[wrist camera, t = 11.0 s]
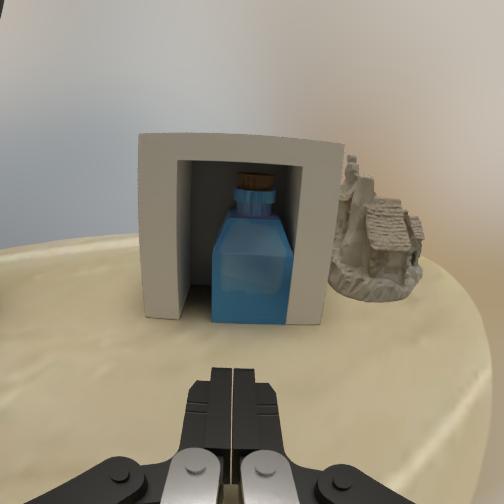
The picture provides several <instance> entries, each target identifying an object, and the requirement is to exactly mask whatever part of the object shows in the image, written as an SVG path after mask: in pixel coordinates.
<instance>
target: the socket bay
mask: <svg viewBox="0 0 504 504" xmlns="http://www.w3.org/2000/svg"><path fill="white" fill-rule="evenodd" d="M343 156H344V144H340V143H332V142H324V141H316V140H307V139H298V138H287V137H276V136H262V135H246V134H225V133H143V134H139V144H138V219H139V244H140V261H141V275H142V286H143V297H144V307H145V316H146V317H152V318H164V319H176V320H179V319H180V316H181V313H182V310H183V307H184V304H185V301H186V298H187V295H188V291H189V288H190V285H208V286H212V253H213V248H214V244H215V240H216V236H217V231H218V229H219V227H220V226H221V224H222V222H223V220H224V218H225V216H226V215H227V213H228V211H229V209H230V208H237V201H236V200H234V199H233V198H234V187H237V186H239V185H238V179H237V173H238V172H257V173H267V174H273V175H276V176H275V179H274V183H273V186H272V189H275V190H276V200H275V203H272V206H271V210H275V212H276V213H277V215H278V217H279V219H280V221H281V223H282V226H283V229H284V231H285V234H286V237H287V240H288V242H289V245H290V248H291V250H292V253H293V256H294V258H293V266H292V275H291V283H290V291H289V299H288V307H287V315H286V322H285V323H286V324H301V325H320V320H321V315H322V310H323V304H324V299H325V293H326V287H327V281H328V275H329V269H330V263H331V256H332V250H333V243H334V236H335V228H336V221H337V213H338V205H339V196H340V187H341V178H342V168H343Z"/></svg>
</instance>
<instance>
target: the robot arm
mask: <svg viewBox="0 0 504 504" xmlns="http://www.w3.org/2000/svg"><path fill="white" fill-rule="evenodd" d="M3 4H4V0H0V18H1V13H2V9H3ZM231 394H232V368H215V367H212V370H211V380H210V381H198V380H197V381H196V382H195V383H194V384H193V386H192V387H191V388H190V389H189V393H188V398H187V404H186V410H185V416H184V422H183V428H182V434H181V441H180V446H179V449H178V451H177V453H176V454H175V455H174V456H173V457H172V458H171V459H169V460H167V461H165V462H162V463H158V464H150V465H141V466H140V465H139V464H138V463H137V462H136V461H134V460H132V459H130V458H127V457H121V456H117V457H111V458H109V459H107V460H105V461H103V462H101V463H100V464H98V465H96V466H95V467H93V468H91V469H89V470H88V471H86V472H84V473H82V474H80V475H79V476H77V477H75V478H73V479H71V480H70V481H68V482H66V483H64V484H62V485H60V486H58V487H56V488H55V489H53V490H51V491H49V492H47V493H45V494H43V495H41V496H39V497H37V498H35V499H33V500H30V501H28V502H26V503H24V504H222V502H223V495H224V484H230V454H231ZM232 484H238V504H415V503H413V502H412V501H410V500H408V499H406V498H404V497H403V496H401V495H399V494H397V493H396V492H394V491H392V490H390V489H389V488H387V487H385V486H384V485H382V484H380V483H379V482H377V481H376V480H374V479H372V478H371V477H369V476H368V475H366V474H364V473H363V472H361V471H360V470H358V469H357V468H355V467H353V466H350V465H345V464H337V465H333V466H330V467H328V468H326V469H325V470H324V471H320V470H314V469H308V468H304V467H301V466H298V465H296V464H295V463H293V462H292V461H291V460H290V459H289V458H288V457H287V456H286V454H285V452H284V447H283V440H282V433H281V426H280V419H279V412H278V407H277V397H276V392H275V391H274V390H273V388H272V387H271V386H270V384H269V383H255V373H254V369H240V368H234V377H233V409H232Z"/></svg>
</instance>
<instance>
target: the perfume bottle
mask: <svg viewBox="0 0 504 504" xmlns="http://www.w3.org/2000/svg"><path fill="white" fill-rule="evenodd" d="M275 176H276V175H273V174H267V173H257V172H238V173H237V179H238V185H239V186H237V187H234V198H233V199H234V200H236V201H237V208H230V209H229V211H228V213H227V215H226V216H225V218H224V220H223V222H222V224H221V226H220V227H219V229H218V231H217V236H216V240H215V244H214V248H213V253H212V322H215V323H239V324H279V325H285V322H286V315H287V307H288V299H289V291H290V283H291V275H292V266H293V258H294V256H293V253H292V250H291V248H290V245H289V242H288V240H287V237H286V234H285V231H284V229H283V226H282V223H281V221H280V219H279V217H278V215H277V213H276V212H275V210H271V206H272V203H275V200H276V190H275V189H272V186H273V183H274V179H275Z"/></svg>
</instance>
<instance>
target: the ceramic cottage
mask: <svg viewBox="0 0 504 504" xmlns="http://www.w3.org/2000/svg"><path fill="white" fill-rule="evenodd" d="M347 160H348V165H347V167H346V170H345V177H346V179H345V181H344V182H343V184H342V185H341V187H340V196H339V205H338V213H337V221H336V228H335V236H334V243H333V250H332V256H331V263H330V269H329V275H328V282H329V284H330V285H331V286H332V288H333V289H334V290H335V291H336V292H338V293H340V294H342V295H344V296H346V297H349V298H352V299H355V300H359V301H364V302H391V301H396V300H397V299H398V300H399V299H404V298H406V297H407V295H409V293H410V292H411V291H412V289H413V288H414V287H415V286H416V284H417V283H418V282H419V280H420V279H421V278H422V269H421V267H420V266H419V264H418V258H419V257H420V253H421V247H422V245H421V241H422V240H424V239H425V238H424V233H423V229H422V226H421V221H420V220H419V218H418V217H417V216H409V215H408V211H407V210H402V206H401V200H400V199H390V198H385V197H377V196H376V193H375V192H374V179H373V177H371V176H369V175H361V174H359V166H358V165H357V164H356V156H355V155H348V156H347Z"/></svg>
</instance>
